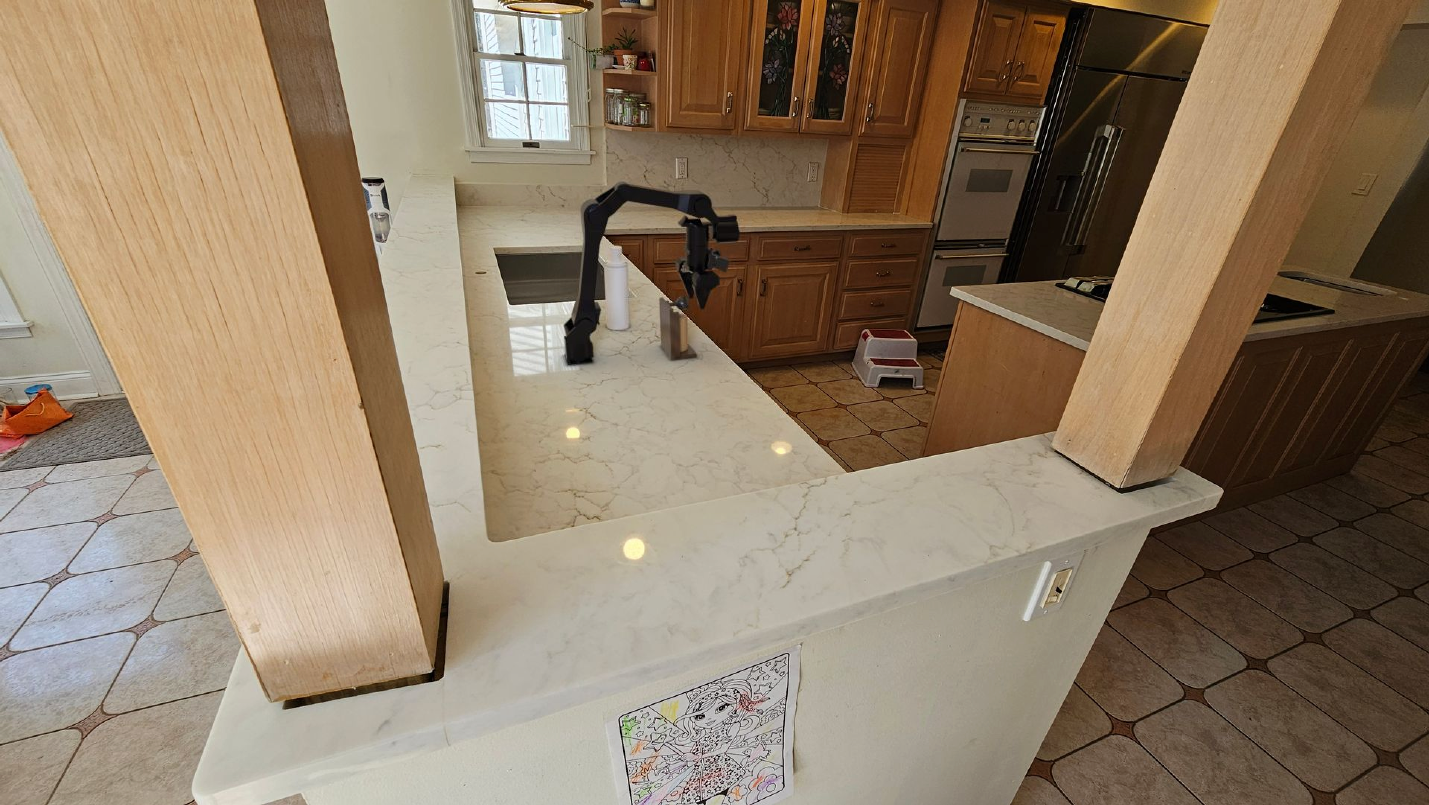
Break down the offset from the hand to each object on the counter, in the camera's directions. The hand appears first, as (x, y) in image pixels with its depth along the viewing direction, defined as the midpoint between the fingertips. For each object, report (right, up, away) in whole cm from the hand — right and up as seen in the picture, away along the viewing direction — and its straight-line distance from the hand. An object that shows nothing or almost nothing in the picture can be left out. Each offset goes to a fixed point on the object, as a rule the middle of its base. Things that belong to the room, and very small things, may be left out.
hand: (696, 303), depth 160 cm
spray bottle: (-24, -4, +20) cm, 32 cm away
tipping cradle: (-8, -6, 0) cm, 10 cm away
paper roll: (-5, -8, +2) cm, 9 cm away
